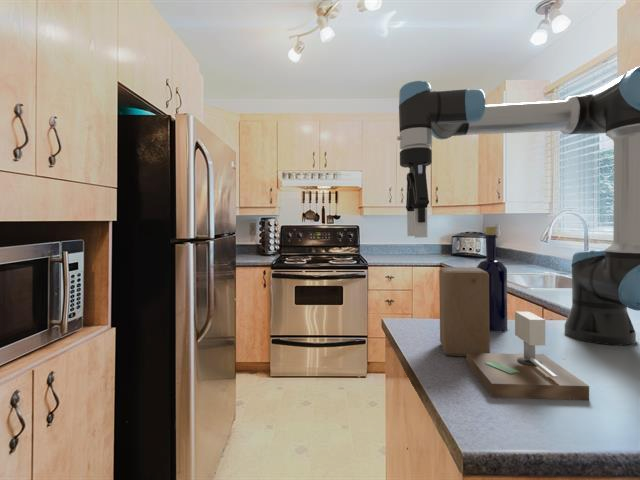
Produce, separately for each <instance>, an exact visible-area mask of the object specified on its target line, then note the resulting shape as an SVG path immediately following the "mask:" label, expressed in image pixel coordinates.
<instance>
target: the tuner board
mask: <svg viewBox="0 0 640 480" xmlns="http://www.w3.org/2000/svg"><path fill="white" fill-rule="evenodd" d="M465 357H466V365H467V366H468V368H469V369H470V371H471V372H472V373H473V374H474V376H475V377H476V378H477V380H478V381H479V382H480V383H481V385H483V387H484V389H485V390H486V391H487V392H488V393H489V394H490V397H492V398H511V399H512V398H515V399H545V400H546V399H547V400H549V399H550V400H551V399H552V400H577V401H578V400H581V401H582V400H583V401H589V400H590V386H589V384H587V383H585V382H584V381H583V380H581V379H580V378H579V377H577V376H576V375H574V374H572V373H571V372H570V371H568V370H567V369H565V368H564V367H562V366H561V365H560V364H558V363H557V362H555V361H554V360H552V358H550V357H548V356H547V355H545V354H543V353H535V359H536V360H537V361H538V362H540V363H541V364H542V365H544V366H545V367H546V368H547V369H549V370H550V371H551V372H553V373H554V374H555V375H557V379H553V378H552V377H550V376H549V375H548V374H547V373H545V372H544V371H543V370H541V369H540V368H539V367H538V366H536V365H535V364H534V363H533V362H531V361H530V360H526V359H524V353H491V352H490V353H466V356H465Z"/></svg>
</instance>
